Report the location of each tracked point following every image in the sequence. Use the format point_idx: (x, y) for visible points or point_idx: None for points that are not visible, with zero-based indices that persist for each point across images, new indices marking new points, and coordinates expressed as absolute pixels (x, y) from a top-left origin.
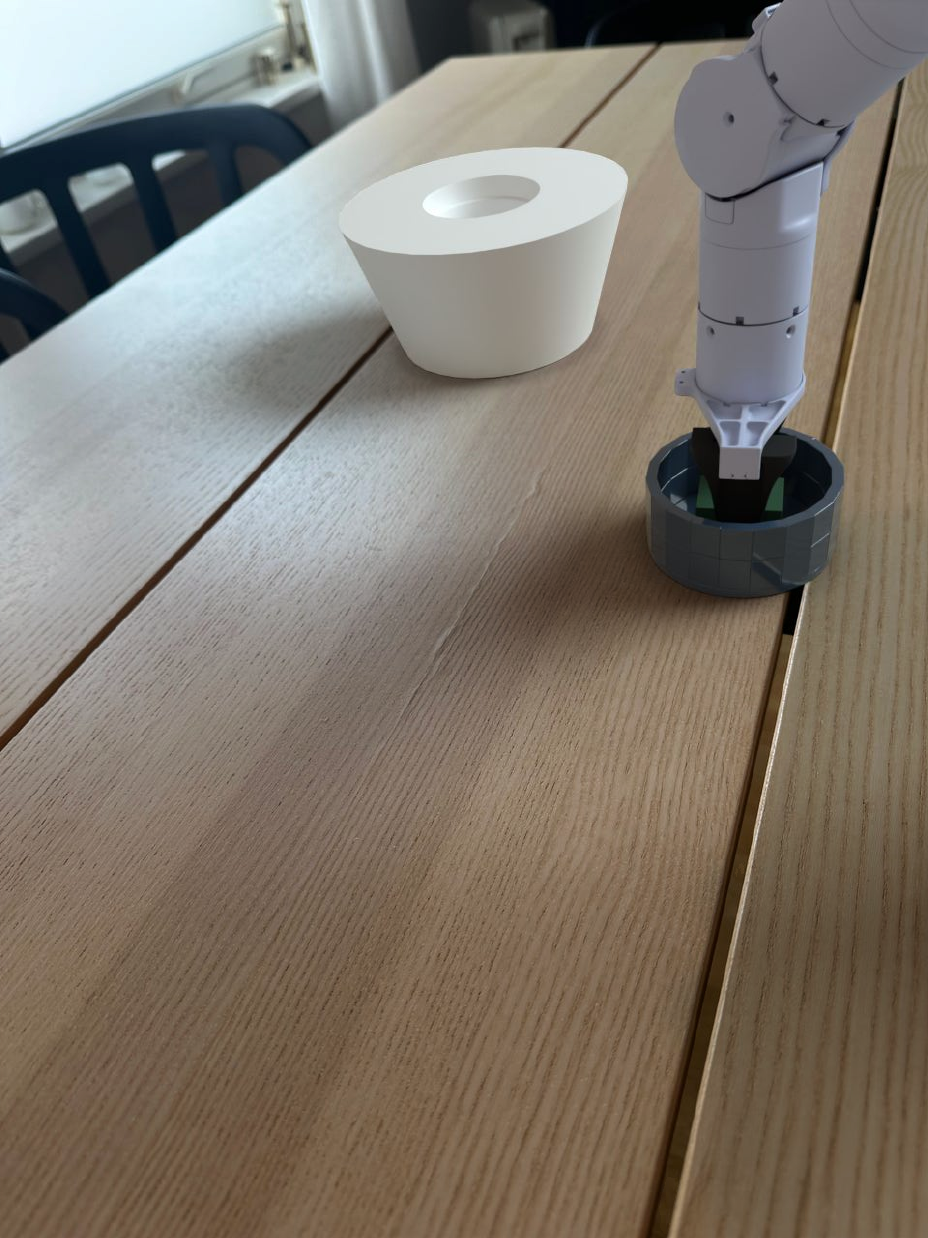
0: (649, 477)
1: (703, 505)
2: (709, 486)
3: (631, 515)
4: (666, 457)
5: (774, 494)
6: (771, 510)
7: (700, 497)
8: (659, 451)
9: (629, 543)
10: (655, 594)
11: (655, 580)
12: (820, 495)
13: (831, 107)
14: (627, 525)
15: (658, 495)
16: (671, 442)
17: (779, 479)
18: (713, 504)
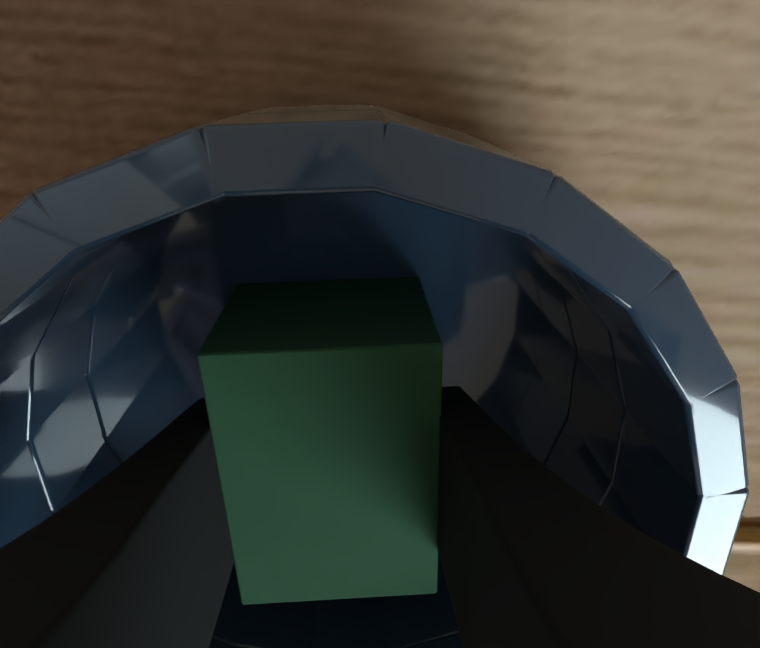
0: (213, 152)
1: (214, 383)
2: (5, 546)
3: (437, 14)
4: (460, 216)
5: (333, 579)
6: (238, 580)
7: (273, 363)
8: (504, 171)
9: (260, 38)
10: (10, 181)
11: (80, 170)
12: (433, 614)
13: None
14: (371, 9)
15: (41, 235)
16: (603, 228)
17: (421, 586)
18: (125, 461)
